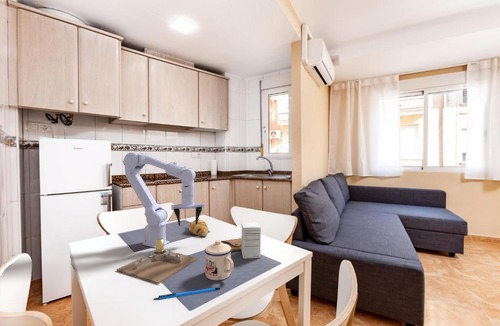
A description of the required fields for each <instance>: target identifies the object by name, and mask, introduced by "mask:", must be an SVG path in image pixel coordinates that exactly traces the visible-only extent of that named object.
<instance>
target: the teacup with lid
mask: <svg viewBox="0 0 500 326" xmlns="http://www.w3.org/2000/svg"><path fill="white" fill-rule="evenodd" d="M221 241H222V240H221V239H217V240H215V241H214V242H213V243H211V244H208V245H207V246H206V247H205V249H204V253H205V254H204V255H205V256H204V259H205V261H204V262H205V263H204V264H205V265H204V266H205V270H204V271H205V274H204V275H205V277H206V278H207V279H209V280H211V281H223V280H225V279H226V280H227V278H229V277H230V275H231V273H232V272H233V270H234V267H235V266H234V261H233V259H232V258H231V257H232V256H231V254H232V253H231V247H230V246H229V245H227V244H224V243H221Z"/></svg>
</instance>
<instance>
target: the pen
mask: <svg viewBox="0 0 500 326" xmlns="http://www.w3.org/2000/svg"><path fill="white" fill-rule="evenodd" d="M221 289H222V288H221V287H211V288H210V287H209V288H205V289H198V290H191V291H185V292H180V293H178V292H173V293H167V294H163V295H162V294H161V295H158V296H157V297H155V298H154V297H153V301H155V300H158V301H159V300H166V299H171V298H172V299H173V298H177V297H183V296H185V297H186V296H189V295H195V294H202V293H210V292H215V291H219V290H221Z"/></svg>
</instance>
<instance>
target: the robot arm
mask: <svg viewBox="0 0 500 326" xmlns="http://www.w3.org/2000/svg"><path fill="white" fill-rule="evenodd" d="M122 164H123V166H124V172H125V173H124V174H125V178H126V179H127V180H128V182H129V184H130V186H131V188H132V189H133V191H134V192H135V194H136V196H137V198H138V199H139V201H140V203H141V204H142V206H143V207H144V216H145V218H146V223H147V224H146V226H145V227H144V230H143V243H142V245H143V246H147V247H151V248H155V249H156V239H159V238H163V239H164V246H165V245H167V244H170V241H169V240H167V238H166V237H167V235H166V233H167V230H166V229H167V227H166V225H167V222H166V220H168V212H167V210H166V209H164V208H163V207H162V205H160V204H159V203H157V201H156V199H155V198H154V196H153V195H152V193H151V191H150V190H149V188H148V187H147V185H146V183H145V182H144V179H143V178H142V176H141V171H142V169H143V168H144V167H145V166H146V165H151V166H153V167H156V168H158V169H162V170H164V172H165V173H166V174H167V175H168V176H171V177H174V178H177V179H180V181H181V203H179V204H171V209H170V210H171V211H173V213H174V215H175V216H176V219H177V220H176V221H177V223H178V226H179V227H180V226H181V210H189V209H195V219H194V221H195V223H196V224H197V223H198V219H199V220H200V215H201V213H202V211H203V209H205V203H204V202H202V203H200V202H199V203H196V202H195V178H196V174H197V173H196V172H195V170H194V169H192V168H187V166H182V165H180V164H178V162H176V161H174V162H166V161H164V160H161V159H158V158H156V157H155V156H152V155H150V154H144V153H143V152H137V153H136V152H127V154H125V155H124V158H123V160H122Z"/></svg>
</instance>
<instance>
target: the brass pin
mask: <svg viewBox="0 0 500 326" xmlns="http://www.w3.org/2000/svg"><path fill="white" fill-rule="evenodd" d="M164 249H165V245H164V239H163V238H159V239H156V248H155V250H156V254H163V253H164Z"/></svg>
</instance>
